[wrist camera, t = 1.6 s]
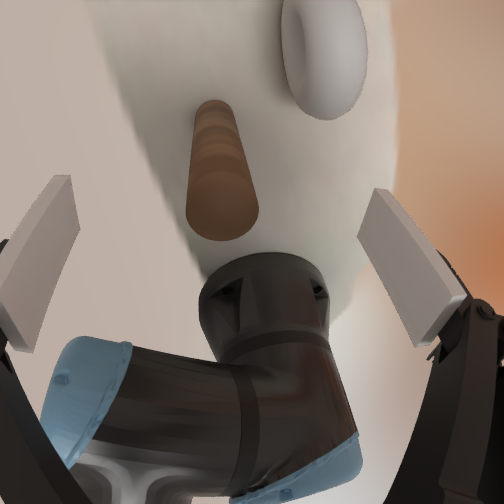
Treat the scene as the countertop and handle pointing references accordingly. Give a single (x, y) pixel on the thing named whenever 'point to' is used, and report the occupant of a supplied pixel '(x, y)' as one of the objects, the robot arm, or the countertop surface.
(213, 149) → the thick dowel
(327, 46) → the grey rounded flat slab
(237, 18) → the countertop surface
